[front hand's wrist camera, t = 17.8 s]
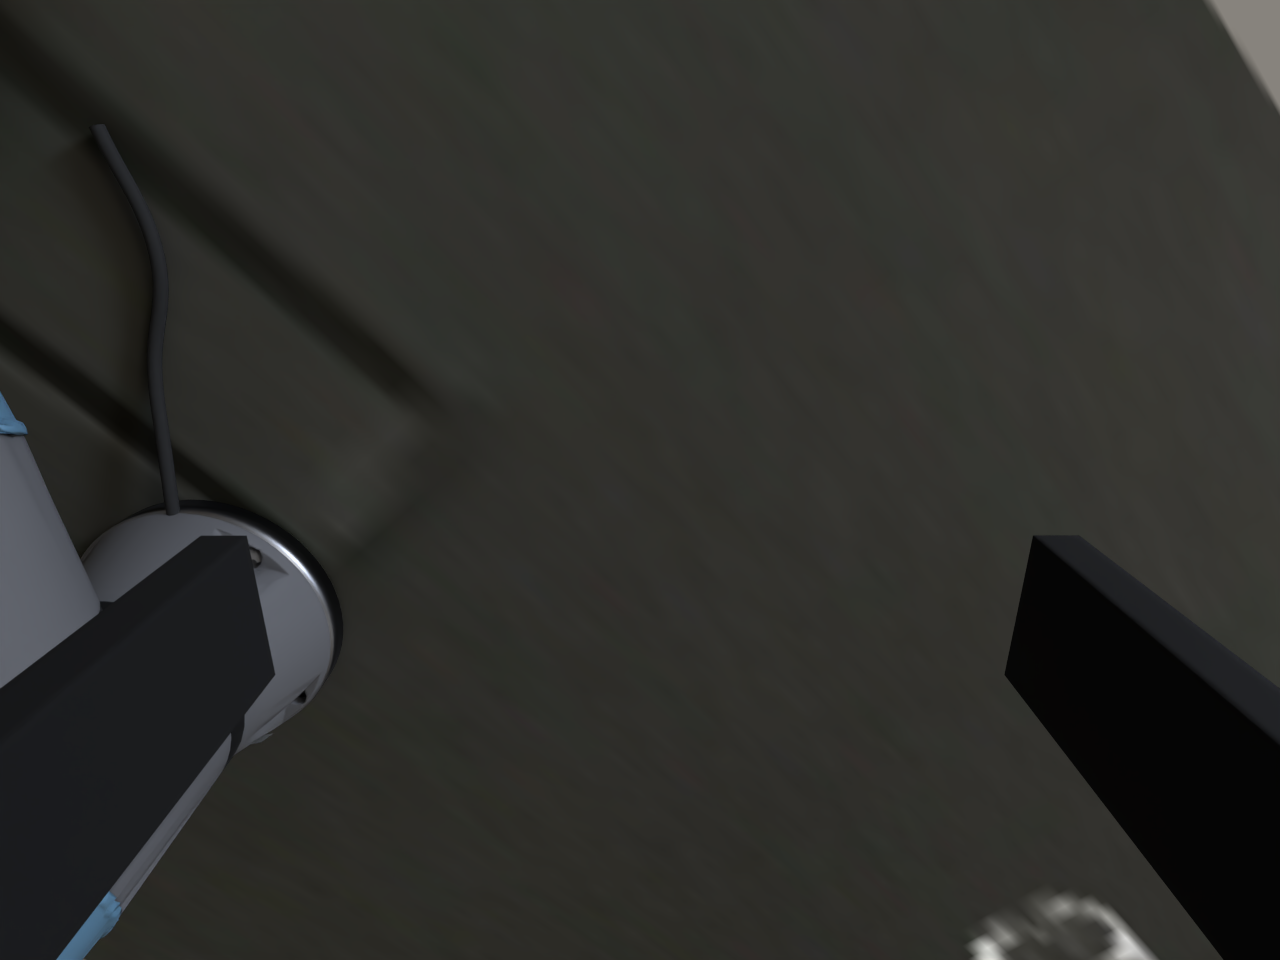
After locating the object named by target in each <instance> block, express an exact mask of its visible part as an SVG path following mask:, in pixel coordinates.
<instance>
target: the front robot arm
mask: <svg viewBox="0 0 1280 960" xmlns="http://www.w3.org/2000/svg"><path fill="white" fill-rule="evenodd" d="M89 128H90V130H91V133H92V135H93V137H94V139H95V141H96V143H97V145H98V146H99V148H100V150H101V152H102V154H103V156H104V158H105V160H106V161H107V163H108V165H109V167H110V169H111V170H112V172H113V174H114V176H115V177H116V179H117V181H118V183H119V185H120V186H121V188H122V190H123V192H124V194H125V195H126V197H127V199H128V201H129V203H130V205H131V207H132V209H133V211H134V213H135V216H136V218H137V220H138V222H139V225H140V228H141V230H142V233H143V236H144V239H145V242H146V245H147V249H148V253H149V258H150V263H151V268H152V277H153V301H152V312H151V320H150V327H149V336H148V347H147V374H148V387H149V396H150V404H151V412H152V418H153V425H154V432H155V438H156V446H157V453H158V460H159V468H160V475H161V482H162V488H163V495H164V502H165V503H161V504H157V505H153V506H151V507H148V508H145V509H143V510H141V511H139V512H137V513H135V514H133V515H131V516H130V517H128V518H126V519H125V520H123V521H122V522H120V523H118V524H117V525H115V526H113V527H112V528H110V529H109V530H107V531H106V532H104V533H103V534H102V535H101V536H99V537H98V538H97V539H96V540H95V541H94V542H93V543H92V544H91V545H90V546H89V547H88V548H87V550H86V551H85V553H84V554H83V556H82V557H81V559H80V558H79V556H78V554H77V552H76V550H75V547H74V545H73V543H72V541H71V539H70V537H69V535H68V532H67V530H66V528H65V526H64V524H63V522H62V520H61V517H60V515H59V513H58V511H57V509H56V507H55V505H54V502H53V500H52V498H51V496H50V494H49V492H48V489H47V487H46V485H45V483H44V480H43V478H42V476H41V473H40V471H39V469H38V467H37V464H36V462H35V460H34V457H33V455H32V453H31V451H30V448H29V446H28V444H27V441H26V439H25V437H24V435H27V434H28V433H27V430H26V427H25V425H24V424H23V422H20V421H17V420H16V419H15V417H14V415H13V414H12V412H11V410H10V408H9V406H8V405H7V403H6V401H5V399H4V397H3V395H2V394H1V392H0V960H82V959H83V958H84V957H85V956H86V955H87V953H88V952H89V951H90V950H91V948H92V947H93V946H94V945H95V944H96V942H97V941H98V940H99V939H101V938H103V937H104V936H106V935H107V934H108V933H109V932H110V931H111V930H112V928H113V927H114V926H115V924H116V922H117V921H119V919H118V918H119V917H120V915H121V914H122V912H123V911H124V910H125V908H126V907H127V905H128V904H129V902H130V901H131V900H132V898H133V897H134V895H135V894H136V893H137V891H138V890H139V888H140V887H141V885H142V884H143V883H144V881H145V880H146V878H147V877H148V876H149V874H150V873H151V871H152V870H153V868H154V867H155V866H156V864H157V863H158V861H159V860H160V859H161V857H162V856H163V854H164V853H165V851H166V850H167V849H168V847H169V846H170V844H171V843H172V842H173V840H174V839H175V837H176V836H177V835H178V833H179V832H180V830H181V829H182V827H183V826H184V825H185V823H186V822H187V820H188V819H189V818H190V816H191V815H192V813H193V812H194V810H195V809H196V808H197V806H198V805H199V803H200V802H201V801H202V799H203V798H204V796H205V795H206V793H207V792H208V791H209V789H210V788H211V786H212V785H213V784H214V782H215V781H216V779H217V778H218V776H219V775H220V773H221V772H222V771H223V769H224V768H225V767H226V765H227V764H228V763H229V761H230V760H231V759H232V757H233V756H234V755H235V754H236V753H238V752H239V751H241V750H242V749H244V748H246V747H247V746H249V745H250V744H254V743H260V742H262V741H264V740H265V739H266V738H268V737H269V736H271V735H272V734H267V733H268V732H270V731H272V730H273V729H275V728H276V727H278V726H279V725H281V724H282V723H283V722H285V721H287V720H288V719H290V718H292V717H293V716H295V715H296V714H297V713H299V712H300V711H301V710H303V709H304V708H305V707H306V706H307V705H308V704H309V703H310V702H311V701H312V700H313V698H314V697H315V696H316V694H317V693H318V692H319V690H320V689H321V687H322V686H323V684H324V683H325V681H326V679H327V678H328V676H329V675H330V673H331V672H332V670H333V668H334V666H335V664H336V662H337V659H338V657H339V654H340V650H341V646H342V638H343V620H342V613H341V608H340V604H339V601H338V598H337V595H336V592H335V590H334V588H333V586H332V583H331V581H330V580H329V578H328V576H327V574H326V573H325V571H324V570H323V568H322V567H321V565H320V564H319V563H318V561H317V560H316V559H315V558H314V556H313V555H312V554H311V553H310V552H309V551H308V550H307V549H306V548H305V547H304V546H303V545H302V544H301V543H300V542H299V541H298V540H297V539H295V538H294V537H293V536H292V535H291V534H289V533H288V532H286V531H285V530H284V529H282V528H281V527H279V526H278V525H276V524H274V523H273V522H271V521H269V520H267V519H265V518H263V517H261V516H259V515H257V514H255V513H253V512H250V511H248V510H245V509H242V508H239V507H236V506H232V505H229V504H224V503H219V502H213V501H205V500H179V499H178V492H177V485H176V478H175V471H174V463H173V456H172V448H171V441H170V434H169V427H168V420H167V413H166V406H165V398H164V389H163V376H162V351H163V340H164V332H165V325H166V317H167V309H168V291H169V288H168V273H167V266H166V260H165V255H164V251H163V247H162V243H161V240H160V236H159V233H158V230H157V228H156V225H155V222H154V220H153V217H152V215H151V213H150V210H149V208H148V206H147V204H146V202H145V200H144V198H143V196H142V194H141V192H140V190H139V189H138V187H137V185H136V183H135V181H134V179H133V178H132V176H131V174H130V172H129V170H128V169H127V167H126V165H125V163H124V161H123V160H122V158H121V156H120V154H119V152H118V150H117V149H116V147H115V145H114V143H113V141H112V139H111V137H110V135H109V133H108V130H107V128H106V126H105V125H104V124H98V125H93V126H90V127H89ZM1005 676H1006V677H1007V679H1008V680H1009V681H1010V683H1011V684H1012V685H1013V686H1014V688H1015V689H1016V690H1017V692H1018V693H1019V694H1020V696H1021V697H1022V698H1023V699H1024V701H1025V702H1026V703H1027V705H1028V706H1029V707H1030V709H1031V710H1032V711H1033V712H1034V714H1035V715H1036V716H1037V718H1038V719H1039V720H1040V722H1041V723H1042V724H1043V725H1044V727H1045V728H1046V729H1047V731H1048V732H1049V733H1050V735H1051V736H1052V737H1053V738H1054V740H1055V741H1056V742H1057V744H1058V745H1059V746H1060V748H1061V749H1062V750H1063V751H1064V753H1065V754H1066V755H1067V757H1068V758H1069V759H1070V761H1071V762H1072V763H1073V764H1074V766H1075V767H1076V768H1077V770H1078V771H1079V772H1080V774H1081V775H1082V776H1083V777H1084V779H1085V780H1086V781H1087V783H1088V784H1089V785H1090V787H1091V788H1092V789H1093V790H1094V792H1095V793H1096V794H1097V796H1098V797H1099V798H1100V800H1101V801H1102V802H1103V803H1104V805H1105V806H1106V807H1107V809H1108V810H1109V811H1110V813H1111V814H1112V815H1113V816H1114V818H1115V819H1116V820H1117V822H1118V823H1119V824H1120V826H1121V827H1122V828H1123V829H1124V831H1125V832H1126V833H1127V835H1128V836H1129V837H1130V839H1131V840H1132V841H1133V842H1134V844H1135V845H1136V846H1137V848H1138V849H1139V850H1140V852H1141V853H1142V854H1143V855H1144V857H1145V858H1146V859H1147V861H1148V862H1149V863H1150V865H1151V866H1152V867H1153V869H1154V870H1155V871H1156V872H1157V874H1158V875H1159V876H1160V878H1161V879H1162V880H1163V882H1164V883H1165V884H1166V885H1167V887H1168V888H1169V889H1170V891H1171V892H1172V893H1173V895H1174V896H1175V897H1176V898H1177V900H1178V901H1179V902H1180V904H1181V905H1182V906H1183V908H1184V909H1185V910H1186V911H1187V913H1188V914H1189V915H1190V917H1191V918H1192V919H1193V921H1194V922H1195V923H1196V924H1197V926H1198V927H1199V928H1200V930H1201V931H1202V932H1203V934H1204V935H1205V936H1206V937H1207V939H1208V940H1209V941H1210V943H1211V944H1212V945H1213V947H1214V948H1215V949H1216V950H1217V952H1218V953H1219V954H1220V956H1221V957H1222V958H1223V960H1280V688H1278V687H1277V686H1276V685H1274V684H1273V683H1272V682H1271V681H1269V680H1268V679H1267V678H1265V677H1264V676H1263V675H1261V674H1260V673H1259V672H1257V671H1256V670H1255V669H1254V668H1252V667H1251V666H1250V665H1248V664H1247V663H1246V662H1244V661H1243V660H1242V659H1240V658H1239V657H1238V656H1236V655H1235V654H1234V653H1233V652H1231V651H1230V650H1229V649H1227V648H1226V647H1225V646H1223V645H1222V644H1221V643H1219V642H1218V641H1217V640H1215V639H1214V638H1213V637H1212V636H1210V635H1209V634H1208V633H1206V632H1205V631H1204V630H1202V629H1201V628H1200V627H1198V626H1197V625H1196V624H1194V623H1193V622H1192V621H1191V620H1189V619H1188V618H1187V617H1185V616H1184V615H1183V614H1181V613H1180V612H1179V611H1177V610H1176V609H1175V608H1173V607H1172V606H1171V605H1170V604H1168V603H1167V602H1166V601H1164V600H1163V599H1162V598H1160V597H1159V596H1158V595H1156V594H1155V593H1154V592H1153V591H1151V590H1150V589H1149V588H1147V587H1146V586H1145V585H1143V584H1142V583H1141V582H1139V581H1138V580H1137V579H1135V578H1134V577H1133V576H1132V575H1130V574H1129V573H1128V572H1126V571H1125V570H1124V569H1122V568H1121V567H1120V566H1118V565H1117V564H1116V563H1114V562H1113V561H1112V560H1111V559H1109V558H1108V557H1107V556H1105V555H1104V554H1103V553H1101V552H1100V551H1099V550H1097V549H1096V548H1095V547H1093V546H1092V545H1091V544H1090V543H1088V542H1087V541H1086V540H1084V539H1083V538H1082V537H1080V536H1033V539H1032V544H1031V549H1030V554H1029V559H1028V563H1027V568H1026V573H1025V578H1024V583H1023V588H1022V592H1021V597H1020V602H1019V607H1018V612H1017V617H1016V622H1015V626H1014V631H1013V636H1012V641H1011V646H1010V651H1009V656H1008V660H1007V665H1006V670H1005ZM265 734H267V735H265Z"/></svg>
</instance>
